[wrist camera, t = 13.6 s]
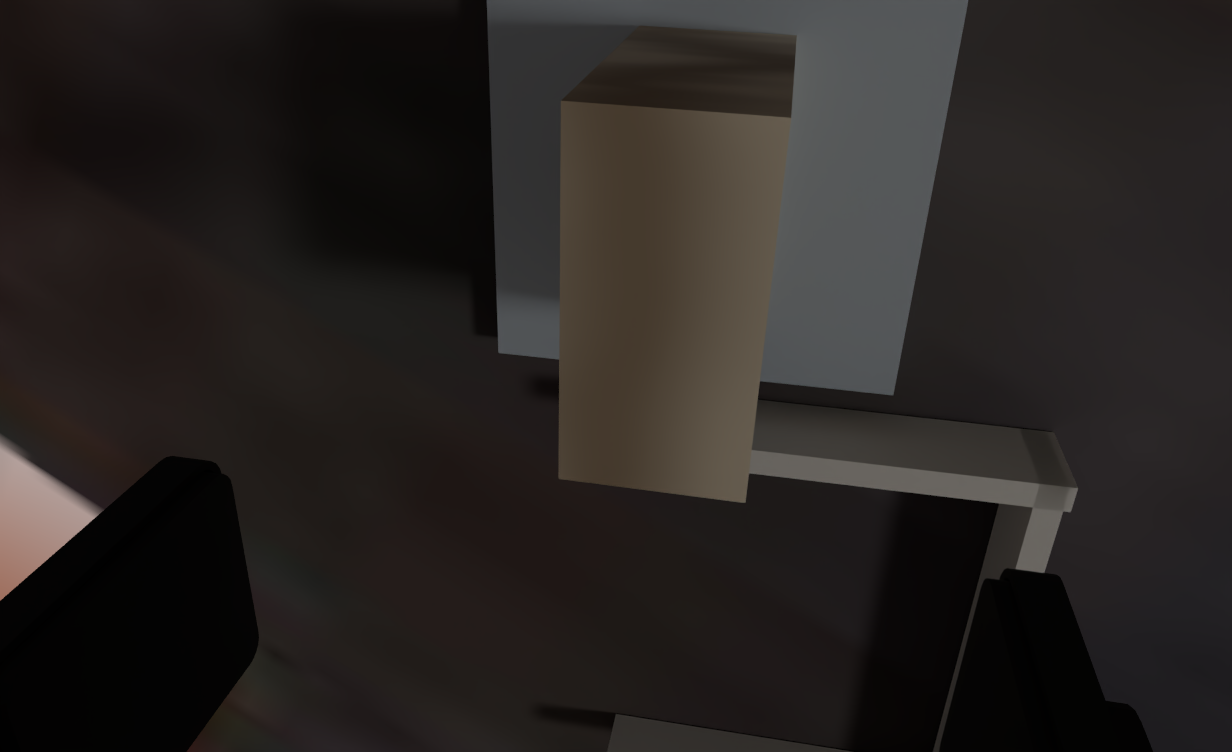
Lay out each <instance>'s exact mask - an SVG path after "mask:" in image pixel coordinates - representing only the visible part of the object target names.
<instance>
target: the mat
mask: <svg viewBox="0 0 1232 752" xmlns="http://www.w3.org/2000/svg"><path fill="white" fill-rule="evenodd" d="M967 5H968V0H487V21H488V51H489V81H490V111H491V142H492V172H493V202H494V232H495V262H496V292H497V322H498V352H499V353H505V354H514V355H524V356H533V357H542V358H552V359H559V337H560V165H561V100H562V99H563V98H564V97H565V96H566V95H567V94H568V93H570V92H571V91H572V90H573V89H574V88H575V87H576V86H577V85H578V84H579V83H580V82H581V81H582V80H583V79H584V78H585V77H586V76H587V75H588V74H589V73H590V72H591V71H593V70H594V69H595V68H596V67H597V66H598V65H599V64H600V63H601V62H602V61H603V60H604V59H605V58H606V57H607V56H608V55H609V54H610V53H611V52H612V51H613V50H614V49H616V48H617V47H618V46H619V45H620V44H621V43H622V42H623V41H624V40H625V39H626V38H627V37H628V36H629V35H630V34H631V33H632V32H633V31H634V30H635V29H636V28H637V27H639V26H654V27H670V28H686V29H702V30H718V31H734V32H750V33H767V34H783V35H797V41H796V55H795V70H794V85H793V99H792V114H791V124H790V132H789V141H788V149H787V158H786V166H785V174H784V183H783V191H782V199H781V208H780V216H779V225H778V233H777V241H776V250H775V258H774V267H773V275H772V283H771V292H770V300H769V308H768V317H767V325H766V334H765V342H764V350H763V359H762V367H761V376H760V381H765V382H774V383H784V384H793V385H802V386H812V387H821V388H830V389H839V390H849V391H858V392H867V393H877V394H886V395H893V393H894V388H895V383H896V378H897V372H898V367H899V362H900V357H901V351H902V346H903V341H904V336H905V330H906V325H907V320H908V315H909V309H910V304H911V299H912V294H913V288H914V283H915V278H916V273H917V267H918V262H919V257H920V252H921V246H922V241H923V236H924V231H925V225H926V220H927V215H928V210H929V204H930V199H931V194H932V189H933V183H934V178H935V173H936V168H937V162H938V157H939V152H940V147H941V141H942V136H943V131H944V126H945V120H946V115H947V110H948V105H949V99H950V94H951V89H952V84H953V78H954V73H955V68H956V63H957V57H958V52H959V47H960V42H961V36H962V31H963V26H964V21H965V15H966V10H967Z"/></svg>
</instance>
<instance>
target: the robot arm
mask: <svg viewBox="0 0 1232 752" xmlns="http://www.w3.org/2000/svg"><path fill="white" fill-rule="evenodd" d="M258 640H259V634H258V627H257V622H256V616H255V610H254V605H253V599H252V594H251V588H250V583H249V577H248V571H247V566H246V560H245V555H244V549H243V543H242V538H241V532H240V527H239V521H238V516H237V510H236V504H235V499H234V493H233V488H232V484H231V480H230V479H229V477H228V476H226V475H224V474H221V471H220V468H219V467H218V466H217V464H216V463H214V462H212V461H206V460H198V459H191V458H183V457H176V456H170V457H166V458H164V459H163V460H161V461H160V462H159V463H158V464H156V465H155V466H154V467H153V468H152V469H151V470H150V471H148V472H147V473H146V474H145V475H144V476H143V477H142V478H140V479H139V480H138V481H137V482H136V483H135V484H134V485H132V486H131V487H130V488H129V489H128V490H127V491H126V492H124V493H123V494H122V495H121V496H120V497H119V498H118V499H116V500H115V501H114V502H113V503H112V504H111V505H109V506H108V507H107V508H106V509H105V510H104V511H103V512H101V513H100V514H99V515H98V516H97V517H96V518H95V519H93V520H92V521H91V522H90V523H89V524H88V525H87V526H85V528H83V529H82V530H81V531H80V532H79V533H77V535H75V536H74V537H73V538H72V539H71V540H69V541H68V542H67V543H66V544H65V545H64V546H63V547H61V548H60V549H59V550H58V551H57V552H56V553H55V554H54V555H52V556H51V557H50V558H49V559H48V560H47V561H46V562H44V563H43V564H42V565H41V566H40V567H38V568H37V569H36V570H35V571H34V572H33V573H32V574H30V575H29V576H28V577H27V578H26V579H25V580H24V581H22V582H21V583H20V584H19V585H18V586H17V587H16V588H14V589H13V590H12V591H11V592H10V593H9V594H8V595H7V596H5V597H4V598H3V599H2V600H1V601H0V752H186V751H187V750H188V749H189V747H190V746H191V745H192V743H193V742H194V741H195V739H196V738H197V736H198V735H199V734H200V732H201V731H202V730H203V728H204V727H205V725H206V724H207V723H208V721H209V720H210V719H211V717H212V716H213V714H214V713H215V712H216V710H217V709H218V708H219V706H220V705H221V703H222V702H223V701H224V699H225V698H226V697H227V695H228V694H229V692H230V691H231V690H232V688H233V687H234V686H235V684H236V683H237V681H238V680H239V679H240V677H241V676H242V675H243V673H244V672H245V670H246V669H247V668H248V666H249V665H250V663H251V662H252V660H253V658H254V656H255V653H256V650H257V647H258ZM939 752H1153V750H1152V748H1151V745H1150V743H1149V740H1148V738H1147V735H1146V733H1145V730H1144V728H1143V725H1142V723H1141V721H1140V719H1139V717H1138V715H1137V713H1136V711H1135V710H1134V709H1133V708H1132V707H1130V706H1129V705H1128V704H1123V703H1116V702H1110V701H1105V698H1104V695H1103V693H1102V690H1101V687H1100V684H1099V682H1098V679H1097V676H1096V673H1095V670H1094V668H1093V665H1092V662H1091V659H1090V657H1089V654H1088V651H1087V648H1086V645H1085V643H1084V640H1083V637H1082V634H1081V632H1080V629H1079V626H1078V623H1077V621H1076V618H1075V615H1074V612H1073V609H1072V607H1071V604H1070V601H1069V598H1068V596H1067V593H1066V590H1065V587H1064V585H1063V582H1062V580H1061V578H1060V577H1059V576H1058V575H1055V574H1048V573H1040V572H1033V571H1026V570H1018V569H1011V568H1006V569H1004V570H1003V572H1002V574H1001V576H1000V579H999V580H997V579H990V578H986V579H985V580H984V581H983V583H982V586H981V589H980V593H979V597H978V601H977V605H976V609H975V612H974V616H973V620H972V624H971V628H970V632H969V635H968V639H967V643H966V647H965V651H964V655H963V658H962V662H961V666H960V670H959V674H958V678H957V681H956V685H955V689H954V693H953V697H952V701H951V704H950V708H949V712H948V716H947V720H946V724H945V727H944V731H943V735H942V739H941V743H940V748H939Z"/></svg>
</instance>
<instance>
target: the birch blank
mask: <svg viewBox="0 0 1232 752" xmlns="http://www.w3.org/2000/svg"><path fill="white" fill-rule="evenodd" d="M796 41H797V35H783V34H767V33H750V32H734V31H718V30H702V29H686V28H670V27H654V26H639V27H637V28H636V29H635V30H634V31H633V32H632V33H631V34H630V35H629V36H628V37H627V38H626V39H625V40H624V41H623V42H622V43H621V44H620V45H619V46H618V47H617V48H616V49H614V50H613V51H612V52H611V53H610V54H609V55H608V56H607V57H606V58H605V59H604V60H603V61H602V62H601V63H600V64H599V65H598V66H597V67H596V68H595V69H594V70H593V71H591V72H590V73H589V74H588V75H587V76H586V77H585V78H584V79H583V80H582V81H581V82H580V83H579V84H578V85H577V86H576V87H575V88H574V89H573V90H572V91H571V92H570V93H568V94H567V95H566V96H565V97H564V98H563V99H562V100H561V165H560V337H559V479H564V480H572V481H580V482H588V483H595V484H603V485H611V486H618V487H626V488H634V489H642V490H649V491H657V492H665V493H672V494H680V495H688V496H696V497H703V498H711V499H719V500H726V501H734V502H742V503H745V501H746V493H747V485H748V476H749V468H750V459H751V451H752V443H753V434H754V426H755V418H756V409H757V401H758V392H759V384H760V376H761V367H762V359H763V350H764V342H765V334H766V325H767V317H768V308H769V300H770V292H771V283H772V275H773V267H774V258H775V250H776V241H777V233H778V225H779V216H780V208H781V199H782V191H783V183H784V174H785V166H786V158H787V149H788V141H789V132H790V124H791V114H792V99H793V85H794V70H795V55H796Z"/></svg>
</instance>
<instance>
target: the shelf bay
mask: <svg viewBox="0 0 1232 752" xmlns="http://www.w3.org/2000/svg"><path fill="white" fill-rule="evenodd" d="M749 473H753V474H761V475H769V476H777V477H786V478H794V479H802V480H810V481H819V482H827V483H835V484H843V485H851V486H860V487H868V488H876V489H884V490H893V491H901V492H909V493H917V494H926V495H934V496H942V497H950V498H959V499H967V500H975V501H983V502H992V503H999V506H998V510H997V513H996V517H995V521H994V525H993V528H992V532H991V536H990V540H989V543H988V547H987V551H986V555H985V558H984V562H983V566H982V570H981V573H980V577H979V581H978V585H977V588H976V592H975V596H974V600H973V603H972V607H971V611H970V615H969V618H968V622H967V626H966V629H965V633H964V637H963V641H962V644H961V648H960V652H959V656H958V659H957V663H956V667H955V671H954V674H953V678H952V682H951V686H950V689H949V693H948V697H947V701H946V704H945V708H944V712H943V716H942V719H941V723H940V727H939V731H938V734H937V738H936V742H935V746H934V749H933V752H939V748H940V743H941V739H942V735H943V731H944V727H945V724H946V720H947V716H948V712H949V708H950V704H951V701H952V697H953V693H954V689H955V685H956V681H957V678H958V674H959V670H960V666H961V662H962V658H963V655H964V651H965V647H966V643H967V639H968V635H969V632H970V628H971V624H972V620H973V616H974V612H975V609H976V605H977V601H978V597H979V593H980V589H981V586H982V583H983V581H984V580H985V579H986V578H990V579H997V580H999V579H1000V576H1001V574H1002V572H1003V570H1004V569H1006V568H1011V569H1018V570H1026V571H1033V572H1040V573H1044V572H1045V568H1046V565H1047V562H1048V559H1049V555H1050V552H1051V549H1052V546H1053V542H1054V539H1055V536H1056V533H1057V529H1058V526H1059V523H1060V520H1061V516H1062V513H1063V511H1066V512H1071V509H1072V506H1073V503H1074V500H1075V497H1076V493H1077V490H1078V487H1077V485H1076V483H1075V480H1074V478H1073V476H1072V473H1071V471H1070V469H1069V466H1068V464H1067V462H1066V459H1065V457H1064V455H1063V452H1062V450H1061V448H1060V445H1059V443H1058V441H1057V439H1056V436H1055V434H1054V432H1047V431H1038V430H1029V429H1020V428H1011V427H1002V426H993V425H984V424H975V423H966V422H957V421H948V420H939V419H930V418H920V417H911V416H902V415H893V414H884V413H875V412H866V411H857V410H848V409H839V408H830V407H821V406H812V405H803V404H794V403H785V402H776V401H767V400H758V401H757V409H756V418H755V426H754V434H753V443H752V451H751V459H750V468H749ZM607 752H852V751H845V750H839V749H833V748H826V747H820V746H814V745H808V744H801V743H795V742H789V741H783V740H776V739H770V738H764V737H757V736H751V735H745V734H739V733H732V732H726V731H720V730H714V729H707V728H701V727H695V726H688V725H682V724H676V723H670V722H663V721H657V720H651V719H645V718H638V717H632V716H626V715H619V714H616V716H615V720H614V724H613V729H612V733H611V738H610V742H609V746H608V751H607Z"/></svg>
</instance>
